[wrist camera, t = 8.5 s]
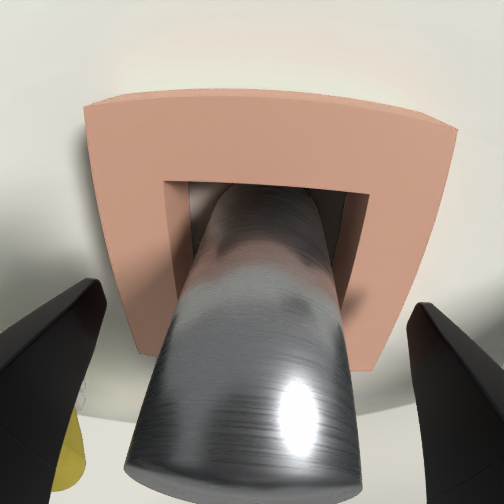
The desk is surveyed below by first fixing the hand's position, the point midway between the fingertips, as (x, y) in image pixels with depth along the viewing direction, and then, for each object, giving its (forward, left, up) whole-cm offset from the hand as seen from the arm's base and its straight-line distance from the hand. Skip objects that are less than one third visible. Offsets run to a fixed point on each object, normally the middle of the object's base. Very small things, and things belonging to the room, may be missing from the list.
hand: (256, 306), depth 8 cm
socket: (0, 0, -4) cm, 4 cm away
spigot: (0, 0, -4) cm, 4 cm away
